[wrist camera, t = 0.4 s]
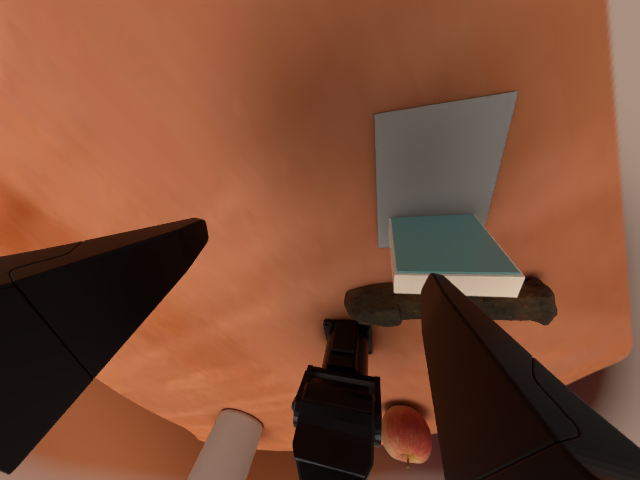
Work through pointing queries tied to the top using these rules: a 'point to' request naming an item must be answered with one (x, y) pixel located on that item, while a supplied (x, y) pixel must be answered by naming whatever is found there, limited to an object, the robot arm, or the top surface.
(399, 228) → the tile
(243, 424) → the cylinder vase
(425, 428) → the apple
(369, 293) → the hand tool
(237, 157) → the top surface
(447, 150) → the mat
